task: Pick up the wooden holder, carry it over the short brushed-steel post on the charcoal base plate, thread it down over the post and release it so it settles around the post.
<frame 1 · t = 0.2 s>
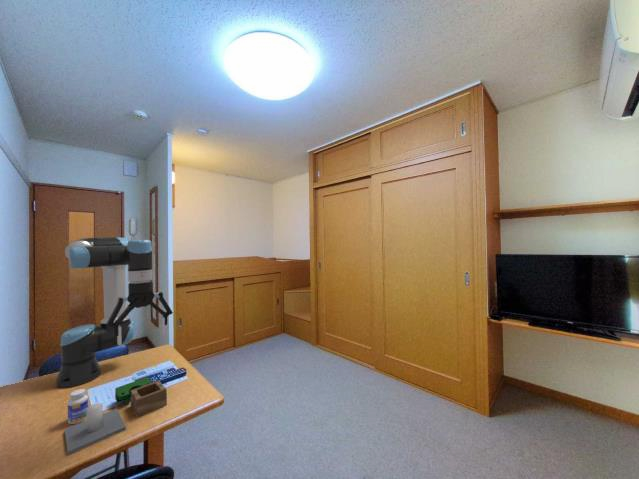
hand: (142, 339, 98), 26 cm above the table, fingers open, 13 cm apart
post: (95, 430, 88), on the table
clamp: (134, 399, 106), on the table
pill bottle: (78, 419, 94), on the table
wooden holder: (148, 405, 101), on the table
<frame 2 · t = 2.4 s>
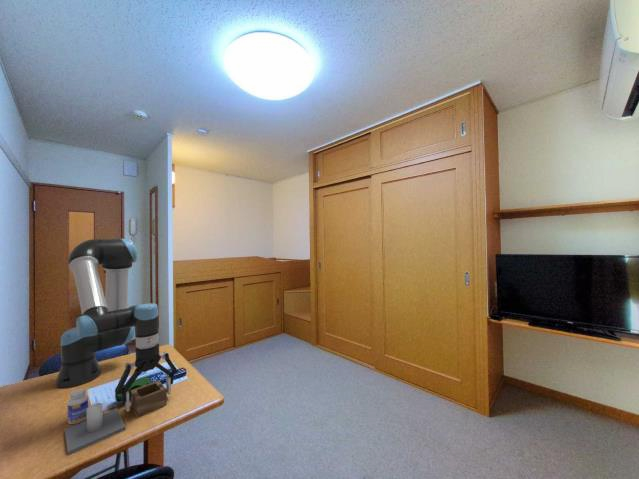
hand: (149, 401, 101), 2 cm above the table, fingers open, 13 cm apart
nothing on the table moved.
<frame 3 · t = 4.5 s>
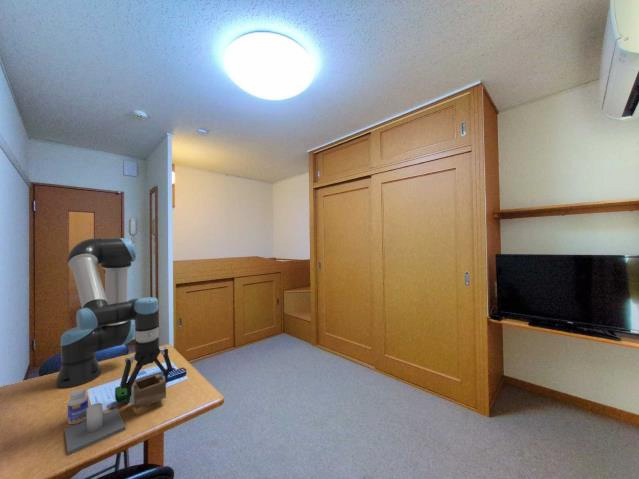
hand: (148, 397, 102), 3 cm above the table, fingers closed on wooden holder, 9 cm apart
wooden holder: (148, 397, 102), point 3 cm above the table, touching gripper
everything else where it was.
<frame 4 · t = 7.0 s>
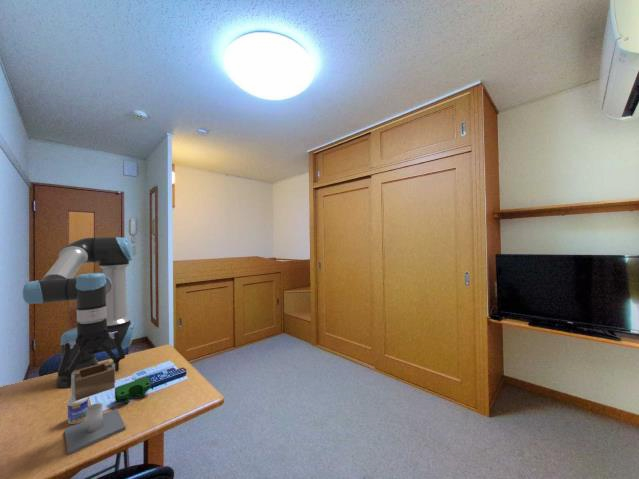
hand: (93, 387, 88), 14 cm above the table, fingers closed on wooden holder, 9 cm apart
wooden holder: (93, 388, 88), point 14 cm above the table, touching gripper
everything else where it was.
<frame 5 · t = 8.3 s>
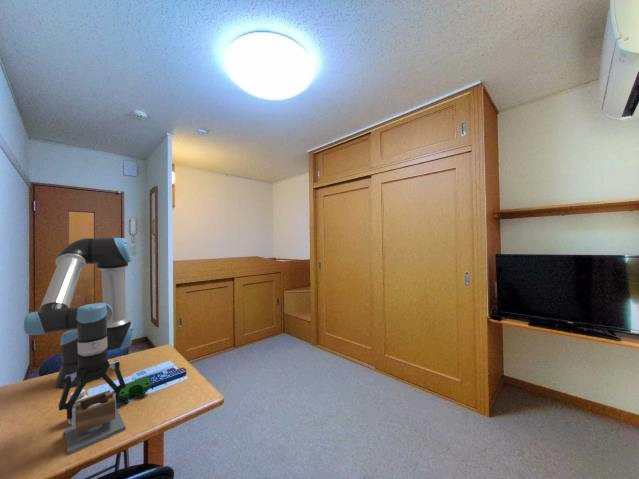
hand: (94, 418, 88), 4 cm above the table, fingers closed on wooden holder, 9 cm apart
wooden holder: (94, 419, 88), point 4 cm above the table, touching gripper
everything else where it was.
when the fingers open (3 cm above the table, at t = 9.5 s): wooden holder drops 1 cm, resting on post.
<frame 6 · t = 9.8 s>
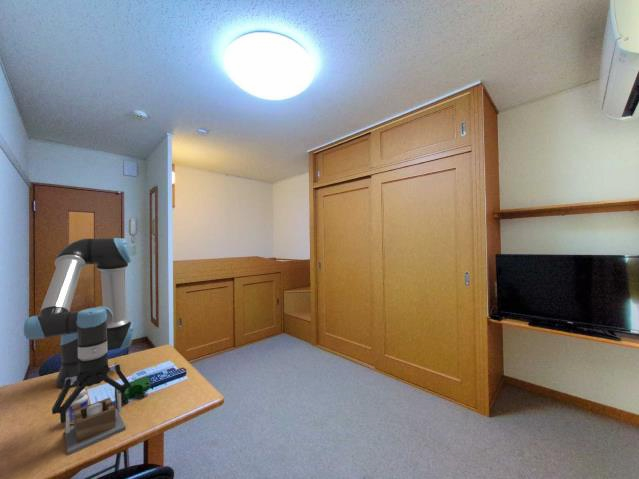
hand: (94, 420, 88), 4 cm above the table, fingers open, 12 cm apart
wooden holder: (95, 427, 88), point 1 cm above the table, touching post
everything else where it was.
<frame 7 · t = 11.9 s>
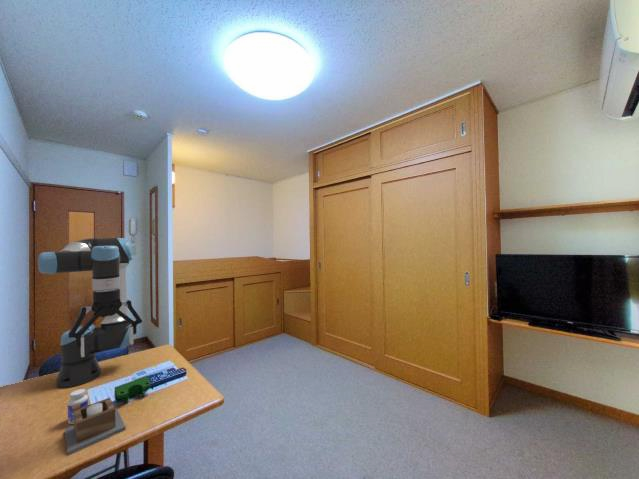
hand: (108, 349, 94), 25 cm above the table, fingers open, 13 cm apart
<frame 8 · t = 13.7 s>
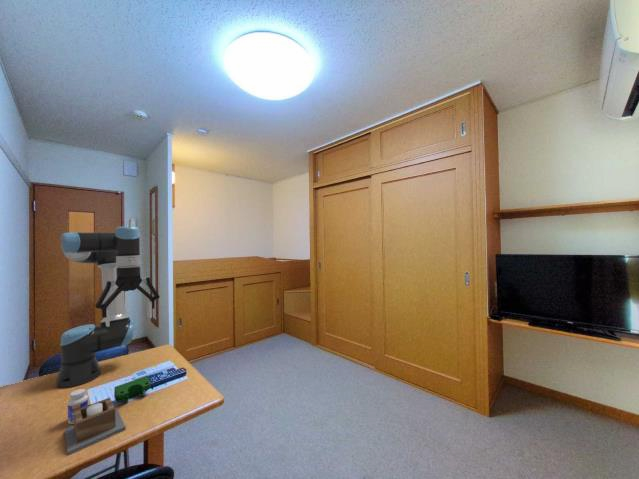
hand: (129, 321, 103), 32 cm above the table, fingers open, 13 cm apart
at the end: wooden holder 0.1 cm off-centre on the post, point 1.0 cm above the post's base; the gripper is holding nothing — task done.
